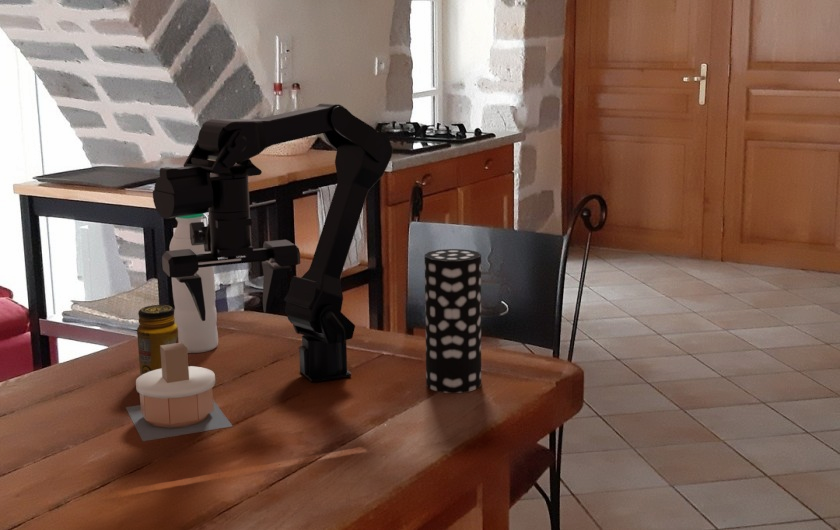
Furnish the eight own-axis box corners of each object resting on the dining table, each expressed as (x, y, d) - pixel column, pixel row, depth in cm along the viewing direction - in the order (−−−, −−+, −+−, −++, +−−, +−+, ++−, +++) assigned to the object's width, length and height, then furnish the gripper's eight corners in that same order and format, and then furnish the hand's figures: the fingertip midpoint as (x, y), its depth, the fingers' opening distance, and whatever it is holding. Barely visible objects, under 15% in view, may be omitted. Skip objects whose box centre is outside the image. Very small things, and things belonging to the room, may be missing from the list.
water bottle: (168, 348, 182) (158, 202, 177) (204, 339, 187) (195, 197, 182) (190, 356, 177) (180, 207, 172) (226, 347, 182) (218, 202, 176)
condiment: (190, 385, 163) (185, 309, 161) (136, 397, 159) (130, 318, 156) (173, 373, 169) (168, 299, 167) (120, 383, 165) (114, 308, 162)
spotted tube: (452, 397, 157) (451, 263, 152) (414, 383, 163) (412, 254, 158) (492, 384, 162) (492, 254, 157) (454, 371, 168) (454, 246, 164)
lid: (203, 368, 155) (201, 331, 153) (224, 390, 145) (222, 351, 144) (129, 380, 150) (126, 342, 149) (145, 403, 141) (142, 363, 139)
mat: (209, 398, 157) (209, 394, 157) (233, 430, 145) (232, 426, 145) (125, 411, 153) (125, 407, 153) (142, 445, 140) (142, 441, 140)
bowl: (203, 401, 155) (201, 370, 154) (218, 422, 146) (216, 390, 145) (138, 411, 151) (135, 379, 150) (149, 433, 143) (147, 400, 142)
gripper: (276, 196, 162) (281, 296, 165) (151, 206, 155) (159, 310, 158) (299, 207, 152) (303, 313, 155) (166, 218, 145) (174, 329, 148)
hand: (234, 316), depth 154 cm, fingers open, 9 cm apart
